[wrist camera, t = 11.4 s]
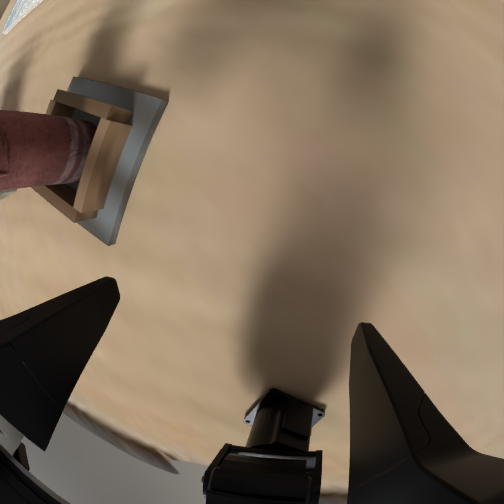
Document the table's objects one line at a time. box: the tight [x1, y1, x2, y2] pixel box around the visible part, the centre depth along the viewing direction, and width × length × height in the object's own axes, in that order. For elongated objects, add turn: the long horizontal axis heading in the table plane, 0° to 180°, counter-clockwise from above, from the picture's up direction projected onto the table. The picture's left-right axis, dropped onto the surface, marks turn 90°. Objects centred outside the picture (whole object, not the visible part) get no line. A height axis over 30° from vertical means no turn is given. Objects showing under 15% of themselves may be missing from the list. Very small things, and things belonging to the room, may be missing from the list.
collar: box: [31, 76, 168, 246], centre depth 20 cm, size 14×14×4 cm
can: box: [0, 110, 97, 191], centre depth 15 cm, size 6×6×14 cm
